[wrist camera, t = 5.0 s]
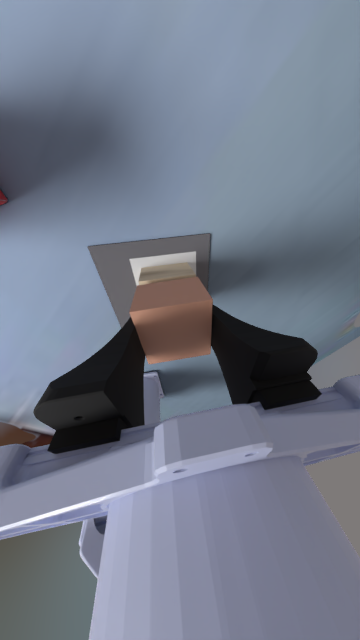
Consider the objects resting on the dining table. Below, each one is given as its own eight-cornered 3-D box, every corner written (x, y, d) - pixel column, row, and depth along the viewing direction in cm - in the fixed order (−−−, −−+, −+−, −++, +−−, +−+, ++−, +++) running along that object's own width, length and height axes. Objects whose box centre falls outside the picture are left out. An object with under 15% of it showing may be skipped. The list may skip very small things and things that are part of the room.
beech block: (188, 301, 19) (196, 319, 16) (150, 307, 18) (150, 326, 15) (187, 262, 16) (195, 274, 13) (141, 267, 15) (138, 281, 12)
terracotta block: (199, 323, 15) (210, 354, 12) (150, 331, 15) (148, 364, 11) (197, 276, 12) (212, 299, 9) (137, 285, 12) (129, 312, 8)
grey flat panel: (205, 334, 23) (205, 335, 23) (129, 346, 22) (129, 347, 22) (209, 233, 15) (210, 233, 14) (88, 246, 14) (87, 246, 14)
